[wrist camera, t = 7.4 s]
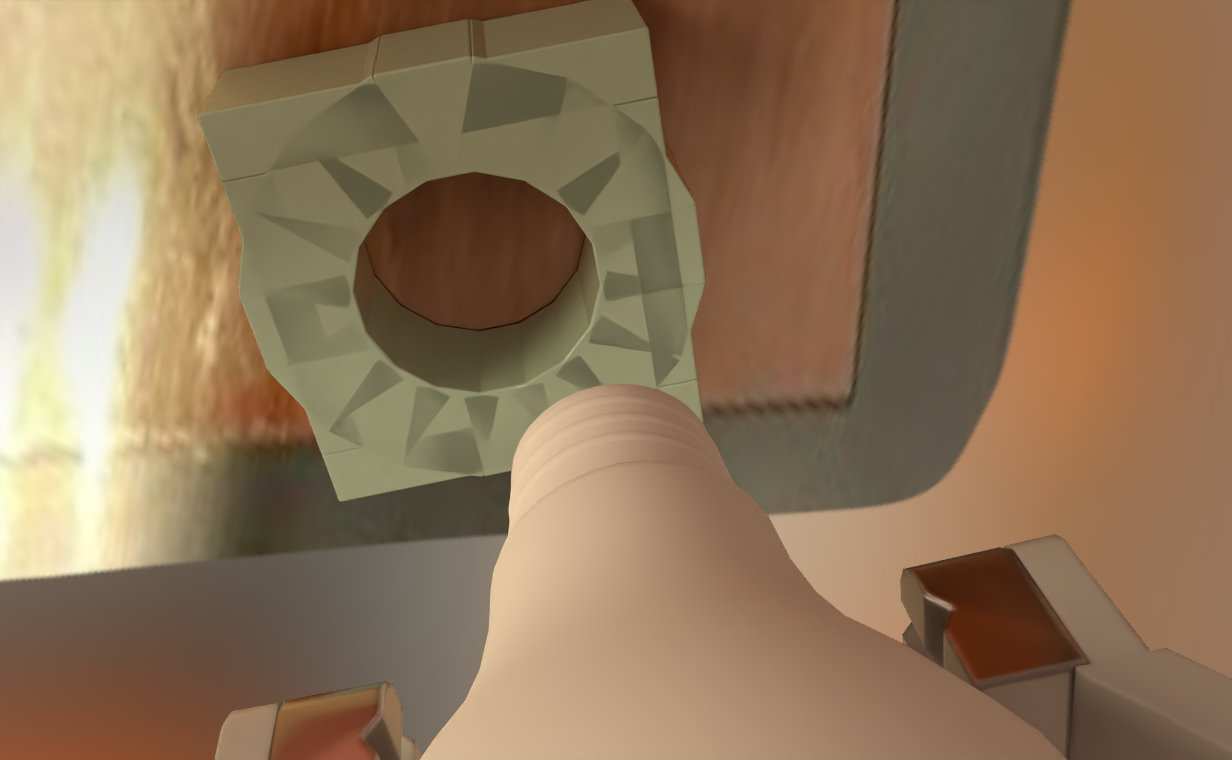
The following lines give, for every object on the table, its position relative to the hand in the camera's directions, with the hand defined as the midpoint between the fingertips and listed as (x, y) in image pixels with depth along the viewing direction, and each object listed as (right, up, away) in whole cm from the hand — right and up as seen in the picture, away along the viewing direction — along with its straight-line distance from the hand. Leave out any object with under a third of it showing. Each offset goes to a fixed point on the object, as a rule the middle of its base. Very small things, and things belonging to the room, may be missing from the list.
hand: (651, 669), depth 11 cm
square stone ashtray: (-5, +8, +25) cm, 27 cm away
